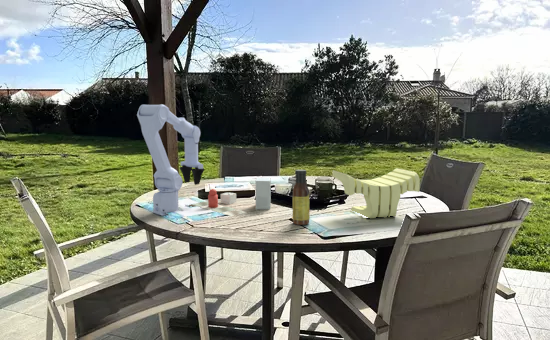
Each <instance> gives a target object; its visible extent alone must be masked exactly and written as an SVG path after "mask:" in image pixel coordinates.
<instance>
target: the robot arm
mask: <svg viewBox="0 0 550 340" xmlns="http://www.w3.org/2000/svg"><path fill="white" fill-rule="evenodd" d="M136 116H137V119H138V122H139V125H140V129H141V133H142V136H143V138H144V139H143V140H144V141H145V143H146V147H147V148H148V151H149V154H150V157H151V158H152V162H153V163H154V166H155V168H156V171H155V173H154V174H153V177H154V178H153V179H154V185H155V187H156V188H157V191H158V192H154V193H153V195H152V204H153V205H152V206H153V207H152V208H153V211H152V213H153V214H156V215H159V216H162V217H163V216H167V215H169V213H172V212H177V211H179V191H180V189H181V188H182V187H183V181H184V183H190V182H191V174H192V176H193V183H194V185H195V186H196V185H200V183H201V179H202V176H203V173H204V172H205V168H204V164H203V163H201V162H199V142H200V137H201V133H202V132H201V129H200V127H199V126H197V125H193V124H192V123H191V122H189V121H187V120H186V118H185V117H177V116H176V115H175V114H174V113H173V112H171V111H170V108H169V107H168V106H167V105H165V104H162V103H161V104H141V105H140V106H139V108H138V111H137V114H136ZM166 122H167V123H168V124H170V125H172V127H173V129H174V130H175V131H176V132H178V133H179V134H181V137H182V138H183V139H184V160H183V161H180V167H179V170H180V172H181V174H182V176H181V175H180V174H179V172H178V170H177V169H175V168H174V167H172V166H171V164H170V163H171V162H170V160H169V158H168V155H167V152H166V149H165V147H164V145H163V142H162V139H161V136H160V133H159V132H160V130H162V129H163V127H164V125H165V123H166ZM182 177H183V178H182Z"/></svg>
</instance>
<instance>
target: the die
mask: <svg viewBox="0 0 550 340" xmlns="http://www.w3.org/2000/svg"><path fill="white" fill-rule="evenodd" d="M235 203H237V193H234V192H224V193H220V204H226V205H231V204H235Z"/></svg>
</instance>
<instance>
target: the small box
mask: <svg viewBox="0 0 550 340" xmlns="http://www.w3.org/2000/svg"><path fill="white" fill-rule="evenodd" d="M271 185H272V183H271V178H270V177H256V178H255V210H271V208H272V207H271V205H272V204H271V203H272V199H271V196H272V193H271V190H272V189H271V187H272V186H271Z"/></svg>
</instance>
